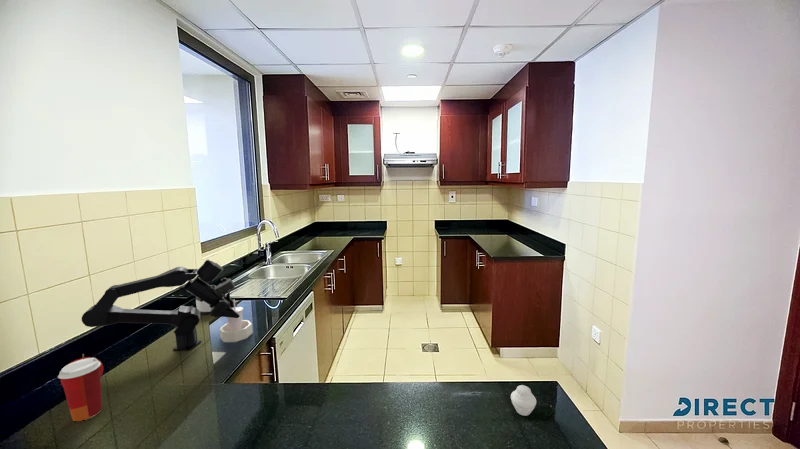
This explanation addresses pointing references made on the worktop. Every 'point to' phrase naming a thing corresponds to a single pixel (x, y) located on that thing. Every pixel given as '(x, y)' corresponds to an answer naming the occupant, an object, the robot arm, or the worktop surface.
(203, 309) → the spread jar
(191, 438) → the worktop surface
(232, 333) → the bowl
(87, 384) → the paper cup
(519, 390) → the white rounded blob
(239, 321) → the smoothie
